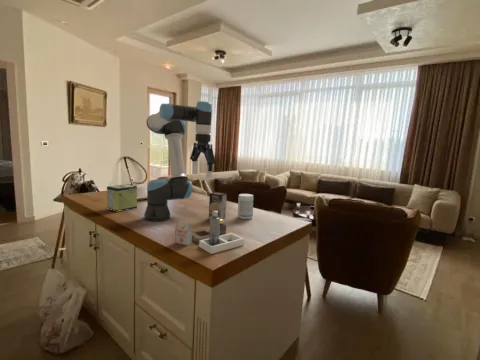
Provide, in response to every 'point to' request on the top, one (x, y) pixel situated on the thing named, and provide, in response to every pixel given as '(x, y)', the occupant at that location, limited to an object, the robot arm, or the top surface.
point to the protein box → (121, 197)
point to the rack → (222, 243)
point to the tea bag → (183, 233)
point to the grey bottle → (214, 229)
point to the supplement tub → (245, 206)
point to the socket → (206, 233)
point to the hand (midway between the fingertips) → (201, 175)
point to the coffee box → (217, 204)
